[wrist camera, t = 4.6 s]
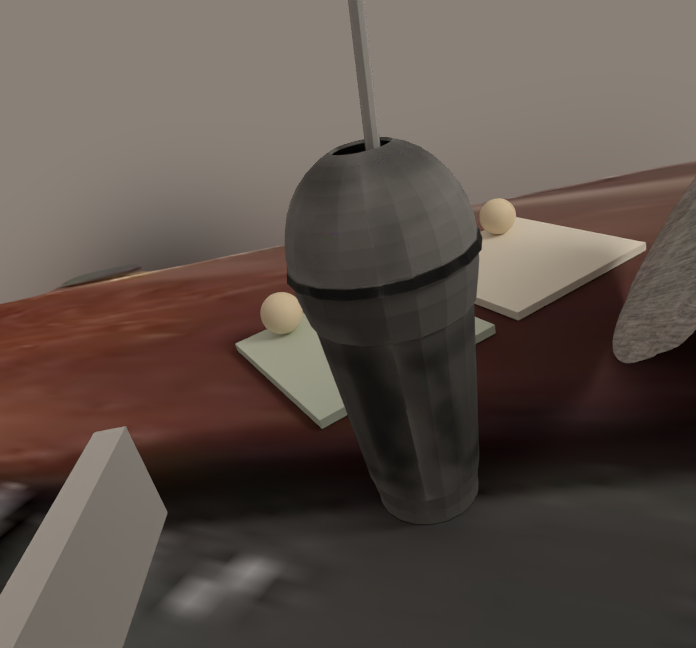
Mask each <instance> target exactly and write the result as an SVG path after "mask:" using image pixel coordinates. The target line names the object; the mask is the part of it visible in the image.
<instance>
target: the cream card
mask: <svg viewBox="0 0 696 648" xmlns="http://www.w3.org/2000/svg"><path fill="white" fill-rule="evenodd" d="M480 223H481V225H482V227H483V228H484V229H485V230H484V231H482V232H480V233H481V235H482V250H481V251H480V252H479V273H478V284H477V296H476V301H475V302H474V304H477V305H479V306H482V307H485V308H487V309H490V310H492V311H495V312H497V313H500V314H503V315H505V316H508V317H510V318H513V319H516V320H518V321H519V320H520V319H522V318H524V317H526V316H528V315H530V314H531V313H533V312H535V311H537V310H539V309H540V308H542V307H544V306H546V305H548V304H549V303H551V302H553V301H555V300H557V299H558V298H560V297H562V296H564V295H566V294H568V293H569V292H571V291H573V290H575V289H577V288H578V287H580V286H582V285H584V284H586V283H587V282H589V281H591V280H593V279H595V278H596V277H598V276H600V275H602V274H604V273H606V272H607V271H609V270H611V269H613V268H615V267H616V266H618V265H620V264H622V263H624V262H625V261H627V260H629V259H631V258H633V257H635V256H636V255H638V254H640V253H642V252H644V251H645V250H646V243H645V242H640V241H635V240H630V239H625V238H620V237H615V236H610V235H605V234H599V233H594V232H589V231H584V230H579V229H574V228H569V227H564V226H559V225H553V224H548V223H543V222H538V221H533V220H528V219H523V218H518V217H516V212H515V209H514V207H513V205H512V204H511V203H510V202H508V201H507V200H504V199H492V200H490V201H488V202H487V203H486V204H485V205H484V206H483V207H482V209H481V211H480Z"/></svg>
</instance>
